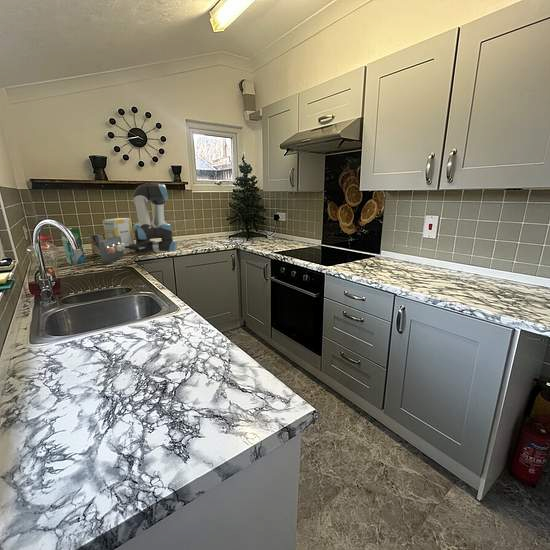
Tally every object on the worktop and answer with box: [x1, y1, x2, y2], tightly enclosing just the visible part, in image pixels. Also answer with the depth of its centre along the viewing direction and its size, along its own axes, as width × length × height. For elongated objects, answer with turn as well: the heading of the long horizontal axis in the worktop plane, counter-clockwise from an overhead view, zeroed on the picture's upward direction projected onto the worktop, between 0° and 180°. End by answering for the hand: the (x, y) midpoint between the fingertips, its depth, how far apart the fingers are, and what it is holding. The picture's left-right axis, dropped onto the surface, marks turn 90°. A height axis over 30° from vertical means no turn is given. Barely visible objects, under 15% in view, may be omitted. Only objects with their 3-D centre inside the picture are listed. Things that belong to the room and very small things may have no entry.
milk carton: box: [60, 227, 86, 266], centre depth 213 cm, size 9×9×25 cm
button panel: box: [95, 236, 125, 265], centre depth 220 cm, size 8×24×16 cm, turn 1°
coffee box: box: [88, 234, 106, 256], centre depth 241 cm, size 9×6×16 cm
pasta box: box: [102, 217, 137, 255], centre depth 242 cm, size 18×10×28 cm, turn 164°
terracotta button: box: [107, 247, 115, 254], centre depth 212 cm, size 3×4×4 cm
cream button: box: [115, 245, 122, 251], centre depth 220 cm, size 3×4×4 cm
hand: (121, 246), depth 211 cm, fingers closed
